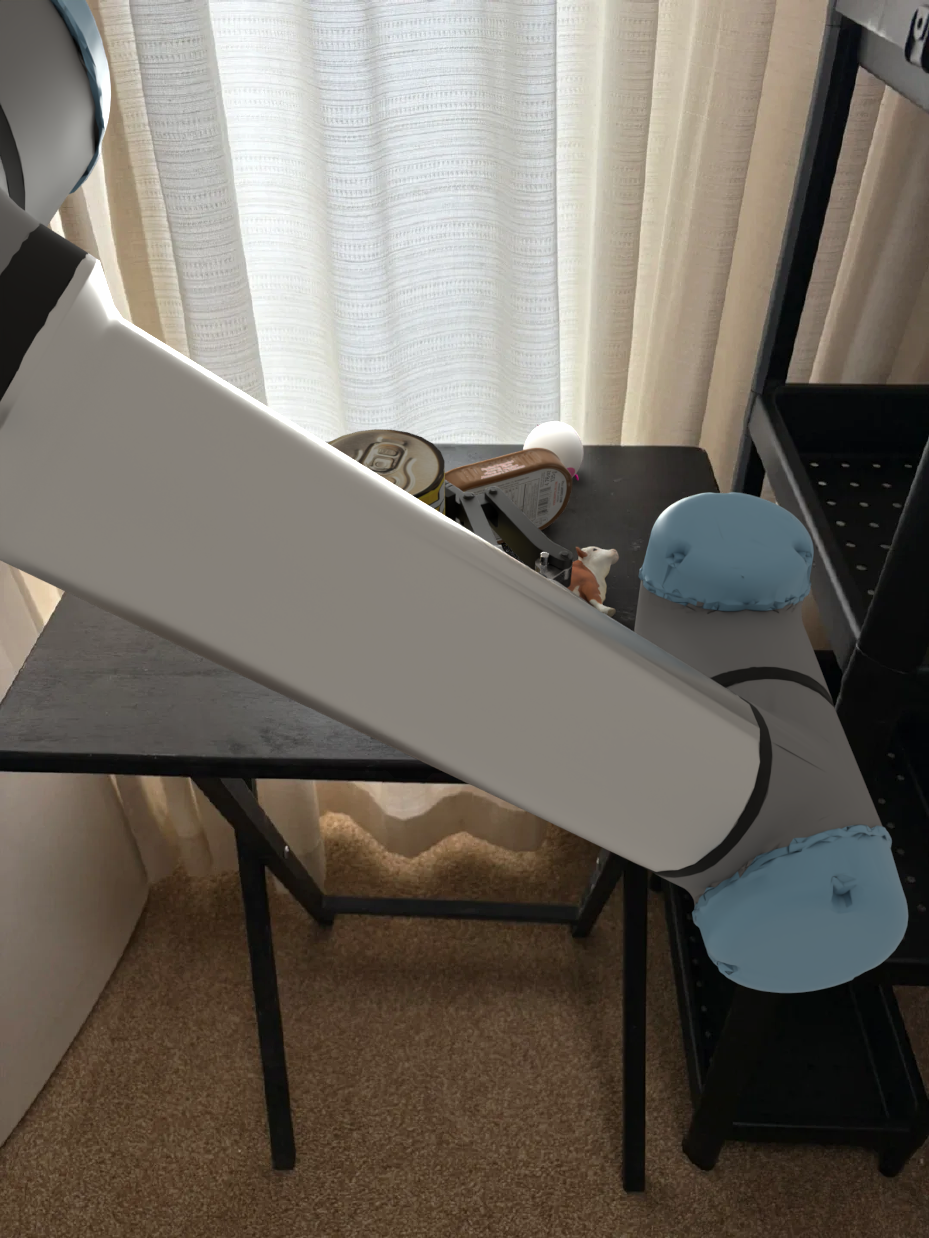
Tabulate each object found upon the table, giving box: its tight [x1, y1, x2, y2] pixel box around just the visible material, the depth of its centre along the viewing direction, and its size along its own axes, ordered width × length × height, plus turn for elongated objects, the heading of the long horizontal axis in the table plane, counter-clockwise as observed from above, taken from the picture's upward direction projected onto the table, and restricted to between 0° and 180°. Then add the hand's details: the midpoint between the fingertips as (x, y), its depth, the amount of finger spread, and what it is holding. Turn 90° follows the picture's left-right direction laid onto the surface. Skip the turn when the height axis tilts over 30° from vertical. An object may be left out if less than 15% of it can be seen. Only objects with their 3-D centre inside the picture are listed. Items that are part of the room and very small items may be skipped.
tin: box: [445, 448, 573, 545], centre depth 95 cm, size 15×3×8 cm, turn 116°
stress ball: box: [522, 420, 584, 481], centre depth 104 cm, size 8×8×7 cm
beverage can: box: [326, 428, 446, 516], centre depth 74 cm, size 9×9×12 cm
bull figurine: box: [568, 546, 620, 618], centre depth 88 cm, size 4×13×8 cm
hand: (343, 496), depth 76 cm, fingers closed on beverage can, 9 cm apart
